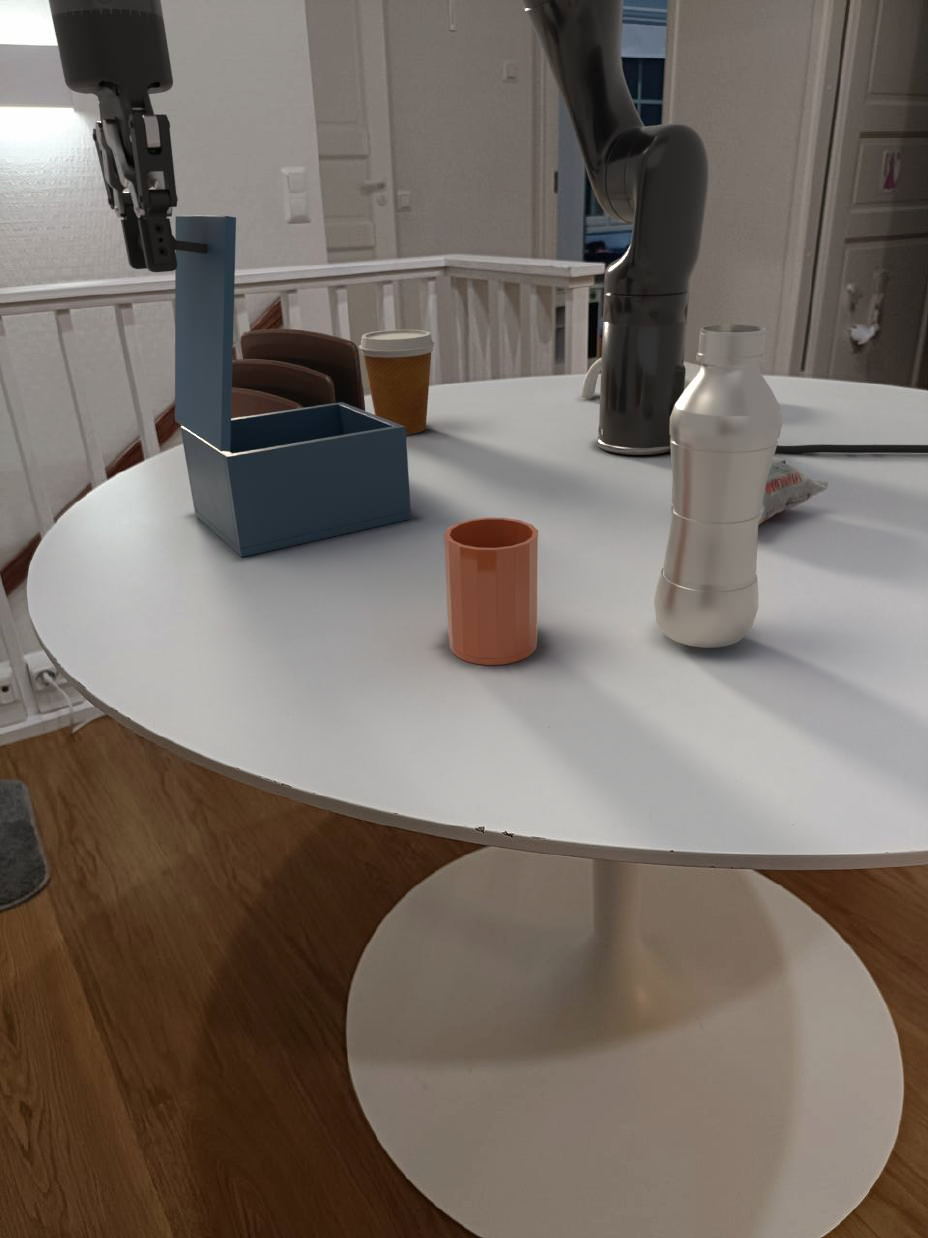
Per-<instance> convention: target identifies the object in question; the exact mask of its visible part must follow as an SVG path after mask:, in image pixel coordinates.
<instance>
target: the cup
mask: <svg viewBox="0 0 928 1238" xmlns="http://www.w3.org/2000/svg"><path fill="white" fill-rule="evenodd" d="M443 540H444V559H445V560H444V563H445V564H444V565H445V585H446V586H445V587H446V609H447V634H448V635H447V636H448V641H449V648H450V649H449V650H450V651H451V653H452V654H453V655H455V657H457V658H458V659H460V660H463V661H465V662H468V663H470V664H475V665H484V666H500V665H508V664H509V665H510V664H513V663H517V662H520V661H522V660H524V659H525V660H526V659H527V658H528V657H530V656H531V655H532V654H533V653H534V652H535V651H536V649H537V647H538V634H539V633H538V631H539V630H538V629H539V628H538V627H539V626H538V625H539V624H538V620H539V617H538V616H539V613H538V612H539V611H538V610H539V608H538V607H539V530H538V529H537V528H536V527H535V526H534V525H533V524H531V523H529V522H527V521H523V520H521V519H520V520H519V519H516V518H508V517H480V518H471V519H468V520H467V519H466V520H464V521H460V522H457V523H455V524H453V525H451V526H450V527H448V528H446V530H445V533H444V539H443Z"/></svg>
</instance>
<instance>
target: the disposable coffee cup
mask: <svg viewBox="0 0 928 1238" xmlns="http://www.w3.org/2000/svg"><path fill="white" fill-rule="evenodd" d="M435 344H436V343H435V342H434V341H433V338H432V335H431V331H427V330H421V329H387V330H379V331H378V330H377V331H372V332H371V331H370V332H367V333H364V334H362V335H361V341H360V344H359V345H358V350H360V353H361V355H362V357H363V361H364V365H365V370H366V375H367V381H368V385H369V392H370V397H371V401H372V407H373V410H374V411H373V412H374V415H376V416H379V417H382V418H384V419H387V420H389V421H392V422H394V423H397V424H400V425H403V426H405V427H406V436H407V435H408V436H409V435H415V434H419V433H422V432H424V431H425V430H426V429H427V419H428V405H429V390H430V377H431V376H430V375H431V364H432V363H431V362H432V352H433V350H434V347H435Z"/></svg>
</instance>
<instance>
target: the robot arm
mask: <svg viewBox="0 0 928 1238" xmlns="http://www.w3.org/2000/svg"><path fill="white" fill-rule="evenodd" d="M520 2H521V5H522V7H523V11H524V12H525V14H526V16H527V19H528V20H529V22H530V24H531V27H532V28H533V31H534V33H535V35H536V37H537V39H538V42H539V44H540V46H541V49H542V52H543V54H544V56H545V59H546V62H547V64H548V66H549V69H550V72H551V74H552V77H553V79H554V82H555V84H556V87H557V88H558V91H559V94H560V96H561V99H562V101H563V103H564V106H565V108H566V110H567V111H566V112H567V114H568V116H569V119H570V122H571V126H572V128H573V131H574V135H575V138H576V141H577V144H578V148H579V151H580V154H581V157H582V160H583V164H584V167H585V170H586V174H587V177H588V180H589V183H590V186H591V188H592V191H593V193H594V196H595V198H596V200H597V202H598V205H600V207H601V209H602V210H603V211H604V213H605V214H606V215H607V216H608V217H610V218H611V219H612V220H614V221H617V222H619V223H622V224H629V225H632V232H631V239H630V243H629V246H628V248H627V249H626V251H625V252H624V253H623V254H622V256H620V257H618V258H617V259H616V260H614V261H612V262H610V263H609V264H608V265H607V267H606V268H605V271H604V279H603V280H604V283H603V310H602V311H603V312H602V313H603V314H602V337H601V338H602V339H601V357H602V361H601V371H600V391H599V416H598V417H599V418H598V436H597V447H599V448H600V449H602V450H604V451H606V452H610V453H614V454H619V455H627V456H653V455H661V454H665V453H671V447H670V437H671V436H670V416H671V414H672V411H673V408H674V406H675V403H676V402H677V400H678V399H679V397H680V396H681V394H682V393H683V392H684V386H685V373H686V368H685V366H684V361H685V352H686V338H687V326H688V325H687V324H688V312H689V311H688V310H689V299H690V289H691V288H690V287H691V278H692V275H693V273H694V270H695V268H696V266H697V263H698V260H699V257H700V252H701V246H702V239H703V230H704V222H705V216H706V208H707V200H708V192H709V191H708V190H709V177H710V171H709V169H710V167H709V158H708V151H707V147H706V145H705V142H704V140H703V137H701V135H700V133H698V131H697V130H696V129H694V128H693V127H692V126H690V125H687V124H684V123H665V124H657V125H656V124H655V125H648V126H645V124H644V122H643V121H642V119H641V116H640V114H639V112H638V111H637V108H636V106H635V103H634V99H633V97H632V95H631V92H630V89H629V87H628V84H627V80H626V78H625V73H624V69H623V68H624V67H623V61H622V35H623V17H624V16H623V15H624V0H520ZM48 4H49V9H50V14H51V19H52V25H53V28H54V33H55V39H56V45H57V49H58V53H59V58H60V59H59V60H60V64H61V68H62V73H63V78H64V83H65V85H66V86H67V88H68V89H69V90H70V91H73V92H75V93H78V94H86V95H88V94H92V95H94V96H96V97H97V100H98V102H99V103H98V108H99V117H100V118H99V119H100V121H95V128H92V134H91V135H92V140H93V141H94V146H95V149H96V153H97V158H98V161H99V166H100V170H101V174H102V178H103V182H104V186H105V191H106V195H107V203H108V205H109V207H110V209H111V210H114V213H115V214H116V217H117V218H118V219H120V223H121V229H122V234H123V239H124V245H125V250H126V256H127V260H128V265H129V266H130V268H132V269H135V270H146V269H147V270H148V271H149V272H152V273H164V272H167V273H168V272H175V269H176V268H177V260H176V254H175V248H174V242H173V236H174V235H173V230H172V225H171V219H170V218H171V217H173V208H177V207H178V201H179V199H178V194H177V186H176V177H175V167H174V166H175V165H174V157H173V156H174V155H173V147H172V146H173V145H172V139H171V124H170V123H171V122H170V120H169V118H168V116H167V114H163V113H162V114H161V113H160V114H159V113H158V114H155V111H154V108H153V105H152V101H151V97H150V95H155V94H161V93H166V92H168V91H170V90H171V89H172V87H173V85H174V79H173V70H172V64H171V60H170V59H171V58H170V52H169V46H168V40H167V33H166V27H165V20H164V14H163V7H162V1H161V0H48ZM151 188H152V189H151ZM153 188H154V189H153ZM127 189H128V190H129V191H124V190H127ZM139 233H140V235H141V241H142V246H143V251H142V250H141V249H140V248H139V246H138V243H137V237H138V235H139ZM172 235H173V236H172ZM815 453H818V454H819V453H820V454H821V453H827V454H828V453H829V454H830V453H831V454H832V453H833V454H928V444H823V443H821V444H802V445H801V444H798V445H778V444H777V447H776V450H775V454H785V455H793V454H794V455H795V454H815Z"/></svg>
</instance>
